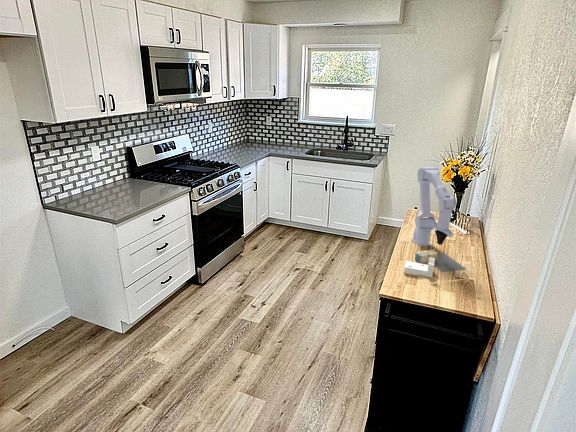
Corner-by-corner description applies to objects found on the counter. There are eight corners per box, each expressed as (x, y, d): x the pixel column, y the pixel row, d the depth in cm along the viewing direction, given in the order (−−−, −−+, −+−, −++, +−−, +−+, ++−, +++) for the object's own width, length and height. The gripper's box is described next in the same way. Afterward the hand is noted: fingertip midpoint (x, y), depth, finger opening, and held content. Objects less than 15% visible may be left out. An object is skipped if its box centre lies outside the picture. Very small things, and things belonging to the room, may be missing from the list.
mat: (420, 255, 198) (420, 254, 198) (443, 253, 201) (443, 252, 201) (441, 273, 181) (441, 271, 181) (466, 270, 184) (466, 269, 184)
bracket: (432, 272, 182) (435, 258, 179) (431, 279, 176) (434, 264, 173) (405, 267, 187) (407, 253, 184) (403, 273, 181) (405, 259, 178)
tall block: (433, 256, 195) (415, 259, 194) (433, 249, 193) (415, 252, 192) (437, 260, 191) (419, 263, 190) (438, 253, 189) (419, 256, 188)
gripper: (429, 215, 195) (425, 239, 200) (445, 225, 182) (441, 250, 186) (441, 214, 196) (437, 238, 201) (458, 224, 183) (453, 249, 188)
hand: (439, 244), depth 194 cm, fingers closed
